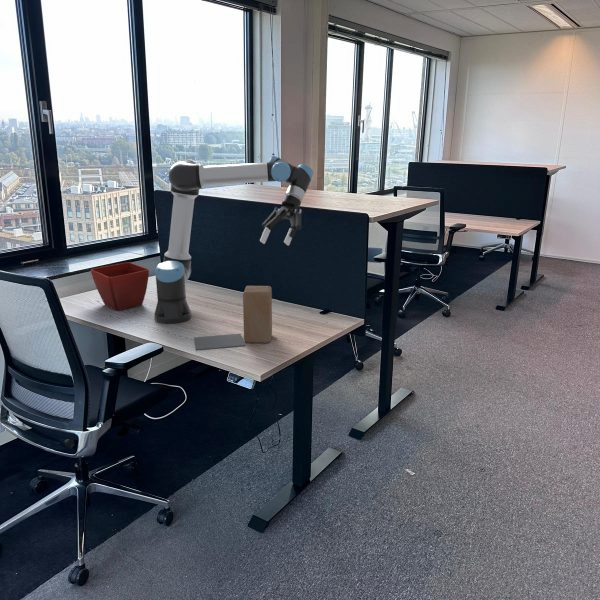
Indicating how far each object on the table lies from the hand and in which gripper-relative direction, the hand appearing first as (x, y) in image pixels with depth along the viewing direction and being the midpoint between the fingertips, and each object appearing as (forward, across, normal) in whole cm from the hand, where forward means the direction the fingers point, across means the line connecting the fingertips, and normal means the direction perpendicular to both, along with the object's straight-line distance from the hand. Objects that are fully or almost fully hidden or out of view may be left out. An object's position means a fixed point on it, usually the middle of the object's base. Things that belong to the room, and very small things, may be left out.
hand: (273, 243), depth 216 cm
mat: (+46, 0, +5) cm, 47 cm away
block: (+39, -8, -5) cm, 40 cm away
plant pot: (+41, +67, +8) cm, 79 cm away
